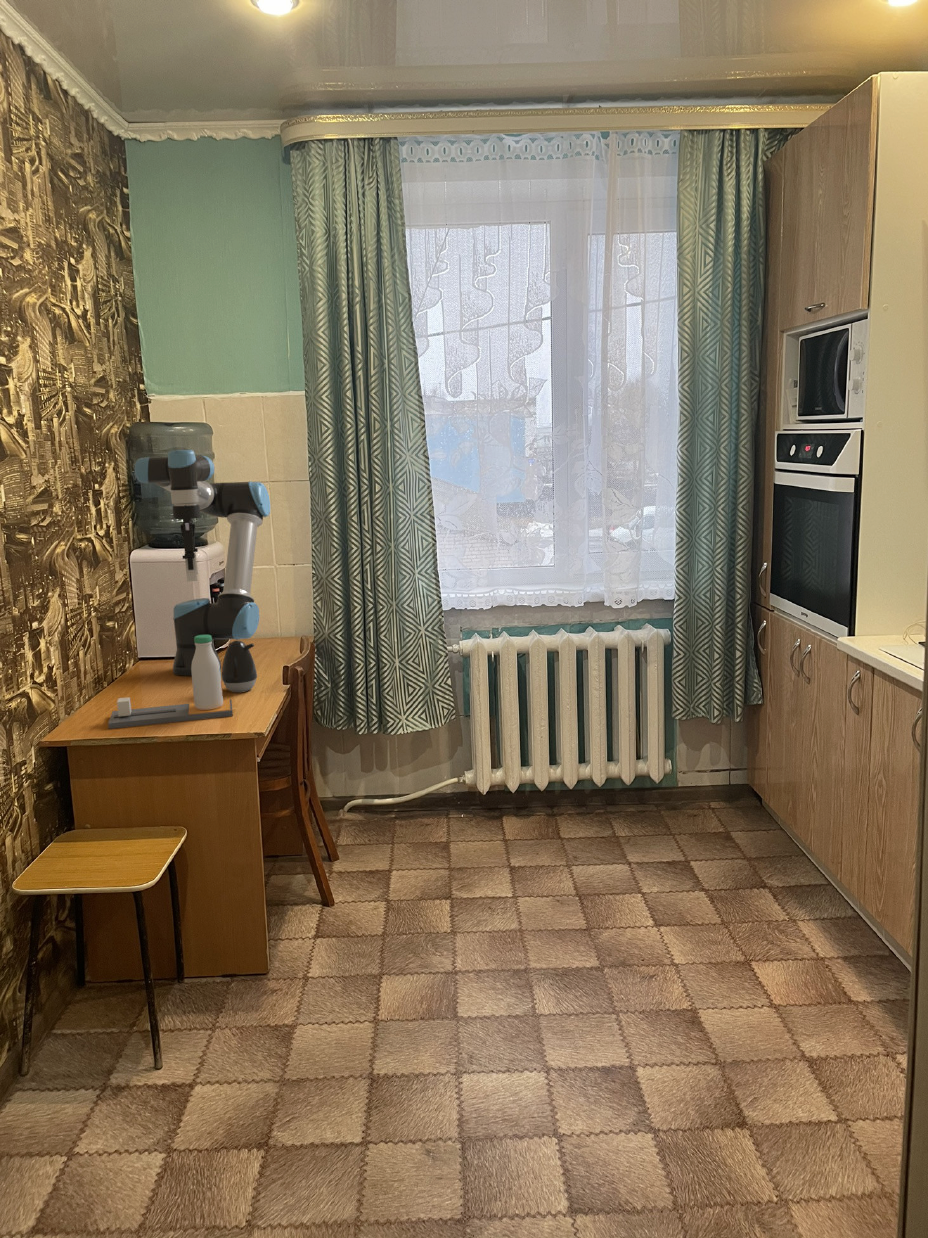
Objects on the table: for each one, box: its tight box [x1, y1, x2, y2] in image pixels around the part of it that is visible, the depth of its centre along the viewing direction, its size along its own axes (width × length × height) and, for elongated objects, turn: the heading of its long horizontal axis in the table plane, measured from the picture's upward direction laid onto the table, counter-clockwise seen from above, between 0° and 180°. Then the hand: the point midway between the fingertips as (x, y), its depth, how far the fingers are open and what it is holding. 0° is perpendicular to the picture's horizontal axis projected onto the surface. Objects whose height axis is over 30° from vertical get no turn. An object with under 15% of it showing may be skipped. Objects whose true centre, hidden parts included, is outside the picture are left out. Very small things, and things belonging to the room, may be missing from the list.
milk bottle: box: [191, 635, 224, 710], centre depth 266 cm, size 8×8×20 cm
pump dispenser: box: [221, 640, 258, 693], centre depth 289 cm, size 10×10×15 cm
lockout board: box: [107, 698, 234, 730], centre depth 266 cm, size 12×32×2 cm, turn 104°
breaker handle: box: [116, 696, 132, 716], centre depth 262 cm, size 4×3×4 cm
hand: (192, 577), depth 282 cm, fingers open, 13 cm apart
